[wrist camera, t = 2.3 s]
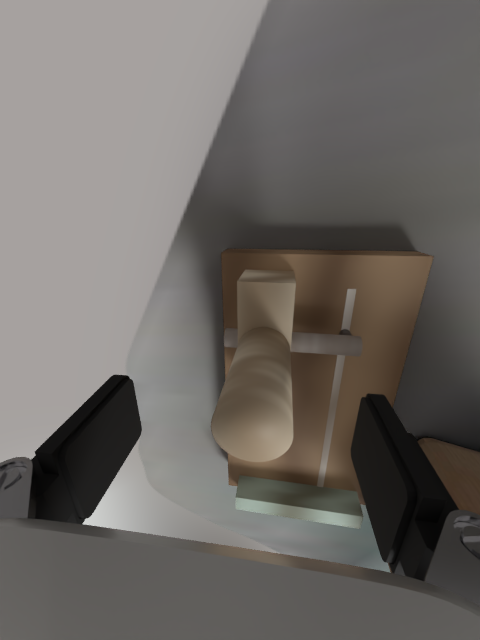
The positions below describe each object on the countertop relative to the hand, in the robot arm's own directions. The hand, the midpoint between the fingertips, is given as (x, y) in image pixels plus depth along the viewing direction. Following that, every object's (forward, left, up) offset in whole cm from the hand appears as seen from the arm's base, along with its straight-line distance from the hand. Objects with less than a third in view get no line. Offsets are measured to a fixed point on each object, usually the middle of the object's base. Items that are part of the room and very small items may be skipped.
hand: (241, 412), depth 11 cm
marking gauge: (-2, 0, -8) cm, 8 cm away
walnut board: (-4, +5, -10) cm, 12 cm away
